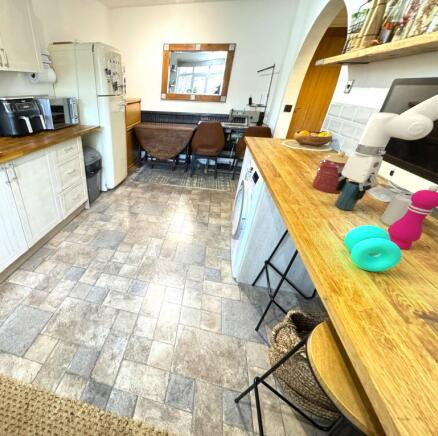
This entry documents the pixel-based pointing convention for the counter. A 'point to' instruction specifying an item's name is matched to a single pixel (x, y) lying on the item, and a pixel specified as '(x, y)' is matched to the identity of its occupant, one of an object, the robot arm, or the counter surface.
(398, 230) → the pepper mill
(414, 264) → the counter surface
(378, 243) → the donuts
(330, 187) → the kitchen canister
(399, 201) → the can
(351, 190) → the cup
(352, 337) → the counter surface
